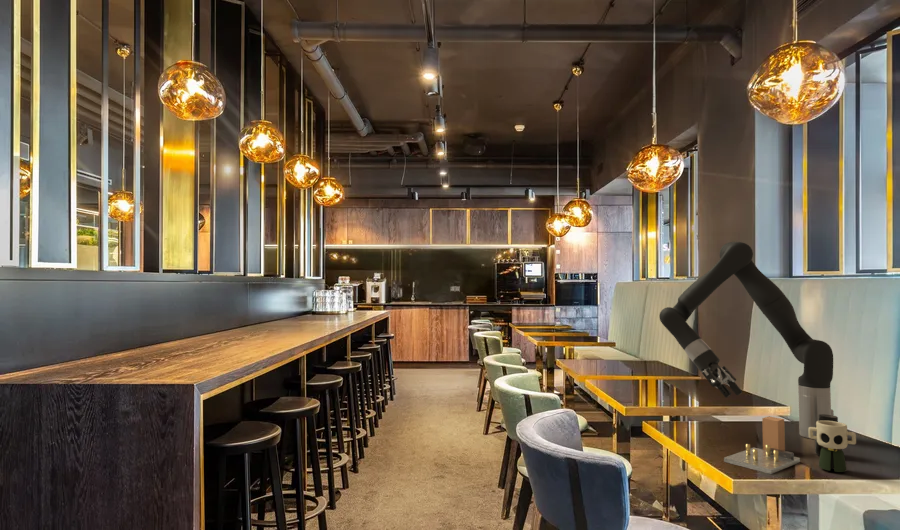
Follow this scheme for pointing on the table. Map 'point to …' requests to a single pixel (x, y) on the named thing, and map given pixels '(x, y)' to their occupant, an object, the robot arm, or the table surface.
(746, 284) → the robot arm
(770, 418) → the block
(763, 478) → the table surface
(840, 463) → the character mug
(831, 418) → the supplement bottle
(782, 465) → the plate
